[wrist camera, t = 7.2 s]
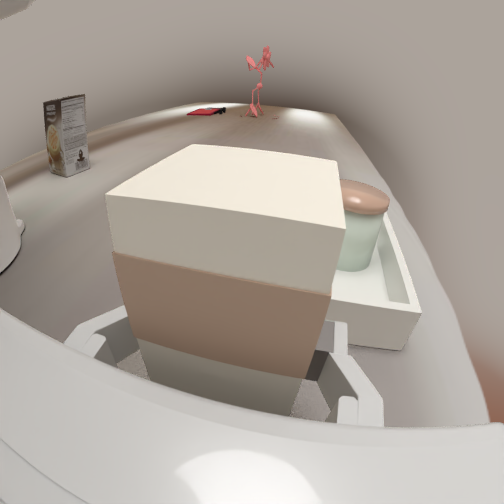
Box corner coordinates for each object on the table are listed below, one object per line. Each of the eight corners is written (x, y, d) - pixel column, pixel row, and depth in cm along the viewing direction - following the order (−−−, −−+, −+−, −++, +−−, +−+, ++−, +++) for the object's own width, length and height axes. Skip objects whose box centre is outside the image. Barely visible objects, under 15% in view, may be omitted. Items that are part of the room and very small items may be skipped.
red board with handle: (229, 109, 149) (202, 109, 150) (229, 105, 148) (202, 104, 148) (218, 116, 124) (186, 116, 125) (219, 110, 123) (186, 111, 123)
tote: (131, 297, 23) (123, 257, 21) (205, 209, 38) (205, 180, 36) (400, 350, 20) (421, 313, 18) (376, 238, 35) (384, 209, 33)
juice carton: (175, 446, 13) (101, 195, 6) (204, 378, 18) (192, 143, 10) (267, 469, 13) (348, 230, 5) (284, 396, 17) (338, 161, 9)
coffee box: (49, 172, 52) (41, 102, 44) (72, 164, 57) (66, 96, 49) (66, 178, 49) (59, 98, 40) (91, 168, 54) (86, 93, 45)
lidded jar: (309, 266, 27) (322, 197, 24) (312, 234, 33) (322, 175, 29) (375, 278, 26) (396, 211, 23) (368, 244, 32) (383, 186, 28)
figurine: (236, 117, 120) (243, 41, 101) (255, 113, 140) (261, 48, 122) (271, 121, 116) (279, 42, 97) (285, 117, 137) (292, 50, 118)
